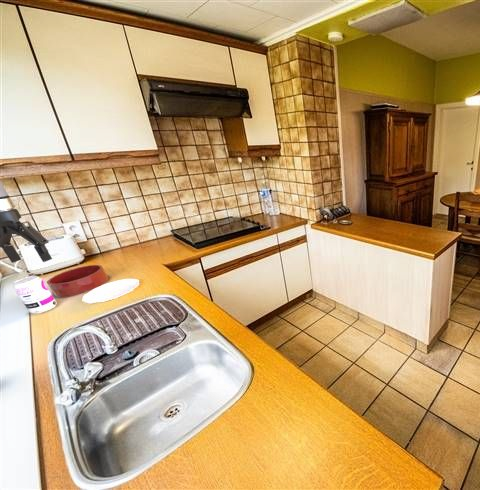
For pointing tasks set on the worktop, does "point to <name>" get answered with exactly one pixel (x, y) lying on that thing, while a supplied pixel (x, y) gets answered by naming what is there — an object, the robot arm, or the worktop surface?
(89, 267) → the red round shallow bowl
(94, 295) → the plate
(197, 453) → the worktop surface
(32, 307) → the supplement can
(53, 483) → the worktop surface
